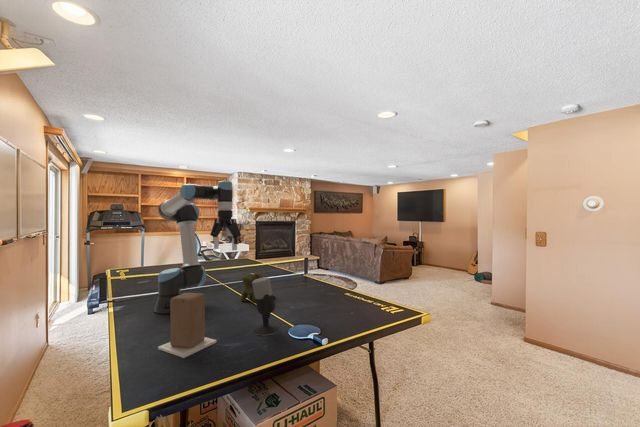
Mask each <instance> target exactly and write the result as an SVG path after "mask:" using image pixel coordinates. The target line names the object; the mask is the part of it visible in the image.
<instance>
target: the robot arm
mask: <svg viewBox="0 0 640 427" xmlns="http://www.w3.org/2000/svg"><path fill="white" fill-rule="evenodd" d="M233 192H234V188H233V182H232V181H229V180H221V181H218V182H217V185H216V186H215V185H205V184H204V185H203V184H192V183H184V184H182V185H181V187H180V189H179V192H178V193H176V194H175V195H174V196H172V197H171V198H170V199H167V200H164V201H162V202H161V203H159V205H158V208H157V212H158V215H159V216H160V217H161V218H162V219H164V220H165V221H169V222H170V221H171V222H176V226H178V227H179V235H180V243H181V244H180V245H181V253H182V263H183V264H182V266H181V267H180V268H179V267H173V268H168V269H164V270H162V271H160V272H159V273H158V276H157V277H158V280H157V294H158V295H157V296H158V297H157V299H156V300H157V301H156V303H155V305H154V312H156V314H159V315H160V314H166V315H167V314H170V305H171V298H173V297H176V296H178V295H181V291H182V290H187V289H192V288H193V289H194V288H198V287H202V286H203V285H204V284H205V283H206V279H207V270H206V269H205V267H203V266H202V263H201V262H200V261H199V257H198V256H199V255H198V247H197V240H196V230H195V225H196V224H197V221H198V220H199V217H200V210H199V208H198V206H197V204H195V203H193V201H195V200H209V201H216V200H217V217H218V218H215V219H214V223H213V225H212V229H211V232H210V234H209V235H210V236H212V237H213V240H212V241H213V249H214V250H218V249H220V247H219V245H220V244H219V243H220V242H219V241H220V240H219V238H220V237H219V235H220V233H221V231H222V230H223V229H224V228H227V229H228V230H229V232H230V234H231V236H232V238H231V243H232V244H231V248H232V249H231V251H238V243H239V238H240V237H241V236H242V234H241V231H240V228H239V225H238V223H237V218H232V217H233Z"/></svg>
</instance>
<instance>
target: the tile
mask: <svg viewBox="0 0 640 427" xmlns="http://www.w3.org/2000/svg"><path fill="white" fill-rule="evenodd" d="M216 343H217V339H214V338H209V337H207V336H205V338H204V340H202V341H201V342H199V343H198V344H196V345H195V346H193V347H192V348H184V347H175V346H171V344H170V341H169V342H167V343H165V344H162V345H159V346H157V350H159V351H163V352H164V353H168V354H171V355H174V356H176V357H180V358H182V359H185V358H186V357H187V358H188V357H190V355H191V356H192V355H194V354H195V353H197V352H199V351H202V350H205V349H206V348H208V347H211V346H212V345H214V344H216Z"/></svg>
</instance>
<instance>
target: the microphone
mask: <svg viewBox="0 0 640 427" xmlns="http://www.w3.org/2000/svg"><path fill="white" fill-rule="evenodd" d="M252 285H253V290H254V295H255V300H256V302H255V304H256V310H257V313H258V314H260V315H261V318H262V324H261V325H257V326H254V327H253V328H251V333H252V334H253V335H256V336H259V335H261V337H264V336H266V337H267V336H271V335H275V334H277V333H279V332H280V327H279V326H278V325H276V324H269V319H271V313H273V312H274V311H275V308H276V303H275V301H276V296H275V295H274V293H273V289H272V284H271V279H270V277H269V276H266V277H265V276H263V278H259V279H256V280H254V281H253V282H252Z"/></svg>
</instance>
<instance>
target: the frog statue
mask: <svg viewBox="0 0 640 427" xmlns="http://www.w3.org/2000/svg"><path fill="white" fill-rule="evenodd" d="M263 277H264V276H263V275H262V274H259V273H257V272H252V273H246V274H244V276H242V277H241V280H242V284H243V289H242V292H241V296H240V301H241V302H242V303H243V302H244V301H245V300H246V299H247V298H248V296H249V297H251V299H252V300H251V301H252V302H253V303H256V300H255V295H254V290H253V285H252V282H253V281H254V280H256V279H259V278H263Z"/></svg>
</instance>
